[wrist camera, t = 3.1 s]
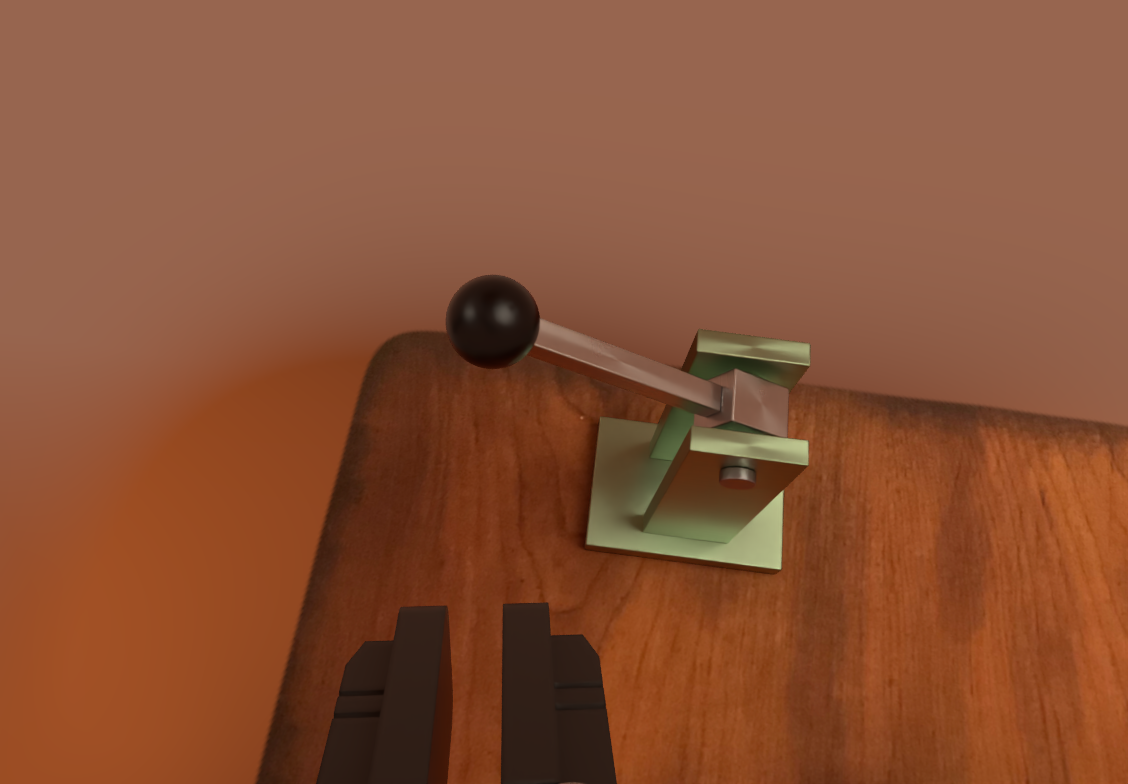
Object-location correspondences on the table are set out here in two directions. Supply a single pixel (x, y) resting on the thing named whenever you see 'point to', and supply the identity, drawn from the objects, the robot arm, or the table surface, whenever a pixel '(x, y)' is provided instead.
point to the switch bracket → (700, 471)
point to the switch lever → (604, 360)
